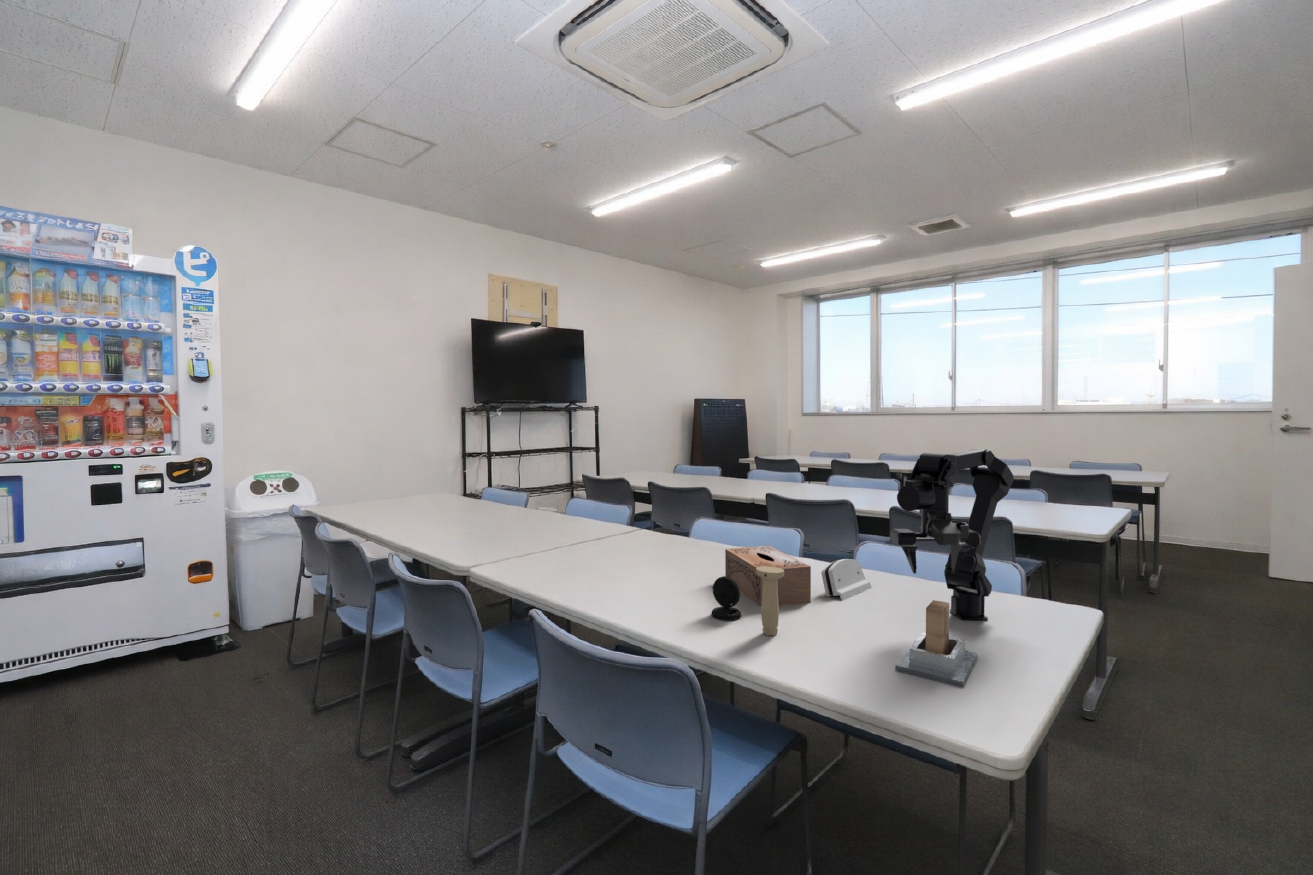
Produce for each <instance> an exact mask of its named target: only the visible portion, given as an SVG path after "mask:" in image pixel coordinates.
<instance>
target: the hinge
mask: <svg viewBox="0 0 1313 875" xmlns="http://www.w3.org/2000/svg"><path fill="white" fill-rule="evenodd" d="M820 573H821V577H822V582H823V586H824V591H825V596H826V597H827V596H828V597H832V596H833V597H835V596H839V597H840V600H841V601H844V600H847V599H849V598H851V596H852V597H854V596H857V595H859V594H861V593H863V591H864V592H866V591H868V590H870V588H871V589H872V585H871V581H869V580H868V579H866V576H865V575H864V574H865V573H864V571H863V569H862V566H861V564H860V562H859V560H857V559H853V558H851V559H850V558H842V559H838V560H834V561H832V562H831V563H829V564H826V566H825V567H824V568H823V569H822V570H821V572H820ZM867 589H868V590H867ZM865 590H866V591H865ZM853 595H854V596H853ZM828 597H827V598H828Z"/></svg>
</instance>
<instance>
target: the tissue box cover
mask: <svg viewBox="0 0 1313 875" xmlns="http://www.w3.org/2000/svg"><path fill="white" fill-rule="evenodd" d="M724 553H725V554H724V558H725V561H724V562H725V563H724V564H725V567H724V568H725V569H724V570H725V574H724V575H725V576H727V577H730V578H732V579H733V580H735V582H736V583H737V584H738V586H739V589H740V593H742V594H743V595H744V596H745V597H747V598H748V599H749V600H751V601H752V602H753V603H754V604H756V605H757V606H759V607H760V608H761V606H762V588H763V581H762V578H761V577H759V576H758V575H757V574H756V568H757V567H761V566H767V567H776V568H780V569H783V570H784V576H783V577H782V578H780V579H778V583H777V586H778V604H779V606H788V605H797V604H798V605H799V604H807V603H809V604H810V603H811V602H812V601H811V600H812V596H811V594H812V592H811V589H812V588H811V587H812V586H811V585H812V582H811V581H812V574H811V573H812V570H811V569H812V567H811V565H808V564H807V563H805V562H802V561H800V560H798V559H797V558H795V557H794V556H793V557H792V556H790V555H789V554H786V553H785V552H782V551H781V550H778V549H777V548H774V547H772V546H770V545H760V546H748V547H747V546H746V547H745V546H743V547H734V548H733V547H732V548H725V552H724Z"/></svg>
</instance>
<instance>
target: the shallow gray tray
mask: <svg viewBox="0 0 1313 875" xmlns="http://www.w3.org/2000/svg"><path fill="white" fill-rule="evenodd" d="M965 645H966V640H964V639H959V638H954V637H950V636H949V655H944V654H940V653H935V652H931V651H926V631H923V632H922V633H921V634H920V635H919V636H918V637H917V639H915V640H914V641H913V643H912V644H911V645H910V646H909V648H908V649H907V650H906V652H905V653H903V655H902V656H901V658H900V659H899V660H898V662H897V663H895V666H894V667H895V671H896V672H901V673H905V674H908V675H912V676H917V677H921V678H925V679H928V680H933V681H937V682H940V683H945V684H948V685H953V686H957V687H961V688H964V686H965V685H966V682H967V680H968V678H969V676H970V674H971V673H972V670H973V668H974V667H975V666H974V665H975V664H976V663H977V660H978V655H979V654H978V652H974V651H969V650H966V648H965V647H966V646H965Z"/></svg>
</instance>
